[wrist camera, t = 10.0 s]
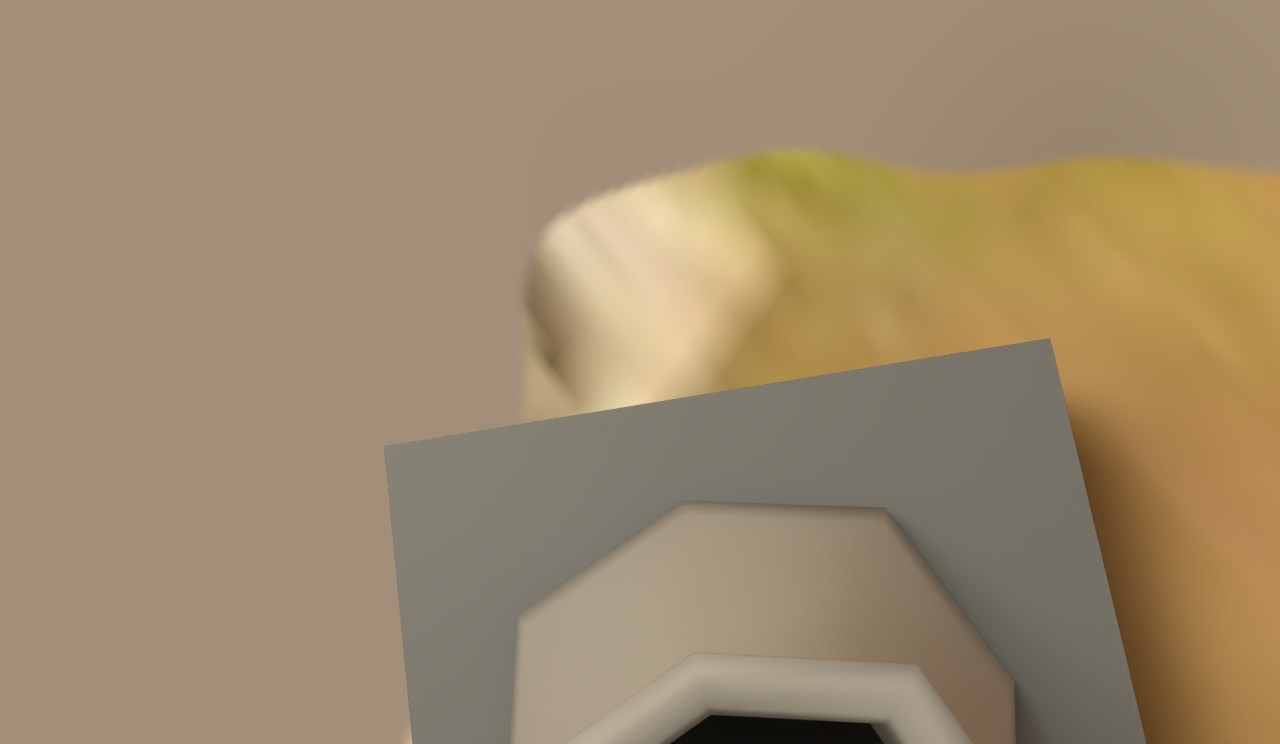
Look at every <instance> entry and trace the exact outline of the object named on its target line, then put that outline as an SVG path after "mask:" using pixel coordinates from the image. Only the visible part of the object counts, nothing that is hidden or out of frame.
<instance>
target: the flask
mask: <svg viewBox="0 0 1280 744" xmlns="http://www.w3.org/2000/svg"><path fill="white" fill-rule="evenodd" d="M509 744H1016V730H1015V690H1014V680H1013V679H1012V678H1011V676H1010V675H1009V674H1008V672H1007V671H1006V670H1005V668H1004V667H1003V666H1002V664H1001V663H1000V662H999V660H998V659H997V658H996V656H995V655H994V654H993V652H992V651H991V649H990V648H989V647H988V645H987V644H986V643H985V641H984V640H983V639H982V637H981V636H980V635H979V633H978V632H977V631H976V629H975V628H974V627H973V625H972V624H971V623H970V621H969V620H968V619H967V617H966V616H965V614H964V613H963V612H962V610H961V609H960V608H959V606H958V605H957V604H956V602H955V601H954V600H953V598H952V597H951V596H950V594H949V593H948V592H947V590H946V589H945V588H944V586H943V585H942V584H941V582H940V581H939V579H938V578H937V577H936V575H935V574H934V573H933V571H932V570H931V569H930V567H929V566H928V565H927V563H926V562H925V561H924V559H923V558H922V557H921V555H920V554H919V553H918V551H917V550H916V549H915V547H914V546H913V545H912V543H911V542H910V540H909V539H908V538H907V536H906V535H905V534H904V532H903V531H902V530H901V528H900V527H899V526H898V524H897V523H896V522H895V520H894V519H893V518H892V516H891V515H890V514H889V512H888V511H887V510H886V508H883V507H854V506H825V505H796V504H767V503H739V502H710V501H681V502H680V503H678V504H677V505H675V506H674V507H672V508H671V509H670V510H668V511H667V512H665V513H664V514H662V515H661V516H660V517H658V518H657V519H655V520H654V521H652V522H651V523H649V524H648V525H647V526H645V527H644V528H642V529H641V530H639V531H638V532H637V533H635V534H634V535H632V536H631V537H629V538H628V539H627V540H625V541H624V542H622V543H621V544H619V545H618V546H616V547H615V548H614V549H612V550H611V551H609V552H608V553H606V554H605V555H604V556H602V557H601V558H599V559H598V560H596V561H595V562H594V563H592V564H591V565H589V566H588V567H586V568H585V569H583V570H582V571H581V572H579V573H578V574H576V575H575V576H573V577H572V578H571V579H569V580H568V581H566V582H565V583H563V584H562V585H561V586H559V587H558V588H556V589H555V590H553V591H552V592H550V593H549V594H548V595H546V596H545V597H543V598H542V599H540V600H539V601H538V602H536V603H535V604H533V605H532V606H530V607H529V608H528V609H526V610H525V611H523V612H522V613H520V614H519V615H518V616H517V625H516V641H515V656H514V671H513V686H512V701H511V717H510V732H509Z"/></svg>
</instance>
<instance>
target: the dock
mask: <svg viewBox="0 0 1280 744" xmlns="http://www.w3.org/2000/svg"><path fill="white" fill-rule="evenodd" d="M384 451H385V460H386V471H387V482H388V492H389V502H390V513H391V523H392V532H393V533H392V534H393V544H394V555H395V565H396V576H397V586H398V596H399V607H400V616H401V628H402V637H403V648H404V659H405V669H406V680H407V690H408V701H409V711H410V721H411V732H412V742H413V744H509V732H510V717H511V701H512V686H513V671H514V656H515V641H516V625H517V616H518V615H519V614H520V613H522V612H523V611H525V610H526V609H528V608H529V607H530V606H532V605H533V604H535V603H536V602H538V601H539V600H540V599H542V598H543V597H545V596H546V595H548V594H549V593H550V592H552V591H553V590H555V589H556V588H558V587H559V586H561V585H562V584H563V583H565V582H566V581H568V580H569V579H571V578H572V577H573V576H575V575H576V574H578V573H579V572H581V571H582V570H583V569H585V568H586V567H588V566H589V565H591V564H592V563H594V562H595V561H596V560H598V559H599V558H601V557H602V556H604V555H605V554H606V553H608V552H609V551H611V550H612V549H614V548H615V547H616V546H618V545H619V544H621V543H622V542H624V541H625V540H627V539H628V538H629V537H631V536H632V535H634V534H635V533H637V532H638V531H639V530H641V529H642V528H644V527H645V526H647V525H648V524H649V523H651V522H652V521H654V520H655V519H657V518H658V517H660V516H661V515H662V514H664V513H665V512H667V511H668V510H670V509H671V508H672V507H674V506H675V505H677V504H678V503H680V502H681V501H710V502H739V503H767V504H796V505H825V506H854V507H883V508H886V510H887V511H888V512H889V514H890V515H891V516H892V518H893V519H894V520H895V522H896V523H897V524H898V526H899V527H900V528H901V530H902V531H903V532H904V534H905V535H906V536H907V538H908V539H909V540H910V542H911V543H912V545H913V546H914V547H915V549H916V550H917V551H918V553H919V554H920V555H921V557H922V558H923V559H924V561H925V562H926V563H927V565H928V566H929V567H930V569H931V570H932V571H933V573H934V574H935V575H936V577H937V578H938V579H939V581H940V582H941V584H942V585H943V586H944V588H945V589H946V590H947V592H948V593H949V594H950V596H951V597H952V598H953V600H954V601H955V602H956V604H957V605H958V606H959V608H960V609H961V610H962V612H963V613H964V614H965V616H966V617H967V619H968V620H969V621H970V623H971V624H972V625H973V627H974V628H975V629H976V631H977V632H978V633H979V635H980V636H981V637H982V639H983V640H984V641H985V643H986V644H987V645H988V647H989V648H990V649H991V651H992V652H993V654H994V655H995V656H996V658H997V659H998V660H999V662H1000V663H1001V664H1002V666H1003V667H1004V668H1005V670H1006V671H1007V672H1008V674H1009V675H1010V676H1011V678H1012V679H1013V680H1014V690H1015V730H1016V744H1146V739H1145V735H1144V731H1143V727H1142V723H1141V718H1140V714H1139V710H1138V706H1137V702H1136V697H1135V693H1134V689H1133V685H1132V681H1131V676H1130V672H1129V668H1128V664H1127V660H1126V655H1125V651H1124V647H1123V643H1122V639H1121V634H1120V630H1119V626H1118V622H1117V617H1116V613H1115V609H1114V605H1113V601H1112V596H1111V592H1110V588H1109V584H1108V580H1107V575H1106V571H1105V567H1104V563H1103V559H1102V554H1101V550H1100V546H1099V542H1098V538H1097V533H1096V529H1095V525H1094V521H1093V517H1092V512H1091V508H1090V504H1089V500H1088V496H1087V491H1086V487H1085V483H1084V479H1083V475H1082V470H1081V466H1080V462H1079V458H1078V454H1077V449H1076V445H1075V441H1074V437H1073V433H1072V428H1071V424H1070V420H1069V416H1068V411H1067V407H1066V403H1065V399H1064V395H1063V390H1062V386H1061V382H1060V378H1059V374H1058V369H1057V365H1056V361H1055V357H1054V353H1053V348H1052V344H1051V340H1050V338H1048V339H1042V340H1036V341H1030V342H1024V343H1018V344H1011V345H1005V346H999V347H993V348H987V349H981V350H974V351H968V352H962V353H956V354H950V355H944V356H937V357H931V358H925V359H919V360H913V361H907V362H901V363H894V364H888V365H882V366H876V367H870V368H864V369H857V370H851V371H845V372H839V373H833V374H827V375H820V376H814V377H808V378H802V379H796V380H790V381H783V382H777V383H771V384H765V385H759V386H753V387H746V388H740V389H734V390H728V391H722V392H716V393H710V394H703V395H697V396H691V397H685V398H679V399H673V400H666V401H660V402H654V403H648V404H642V405H636V406H629V407H623V408H617V409H611V410H605V411H599V412H592V413H586V414H580V415H574V416H568V417H562V418H555V419H549V420H543V421H537V422H531V423H525V424H519V425H512V426H506V427H500V428H495V429H488V430H482V431H475V432H469V433H463V434H457V435H452V436H445V437H439V438H433V439H426V440H421V441H414V442H408V443H401V444H395V445H389V446H384Z"/></svg>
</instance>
